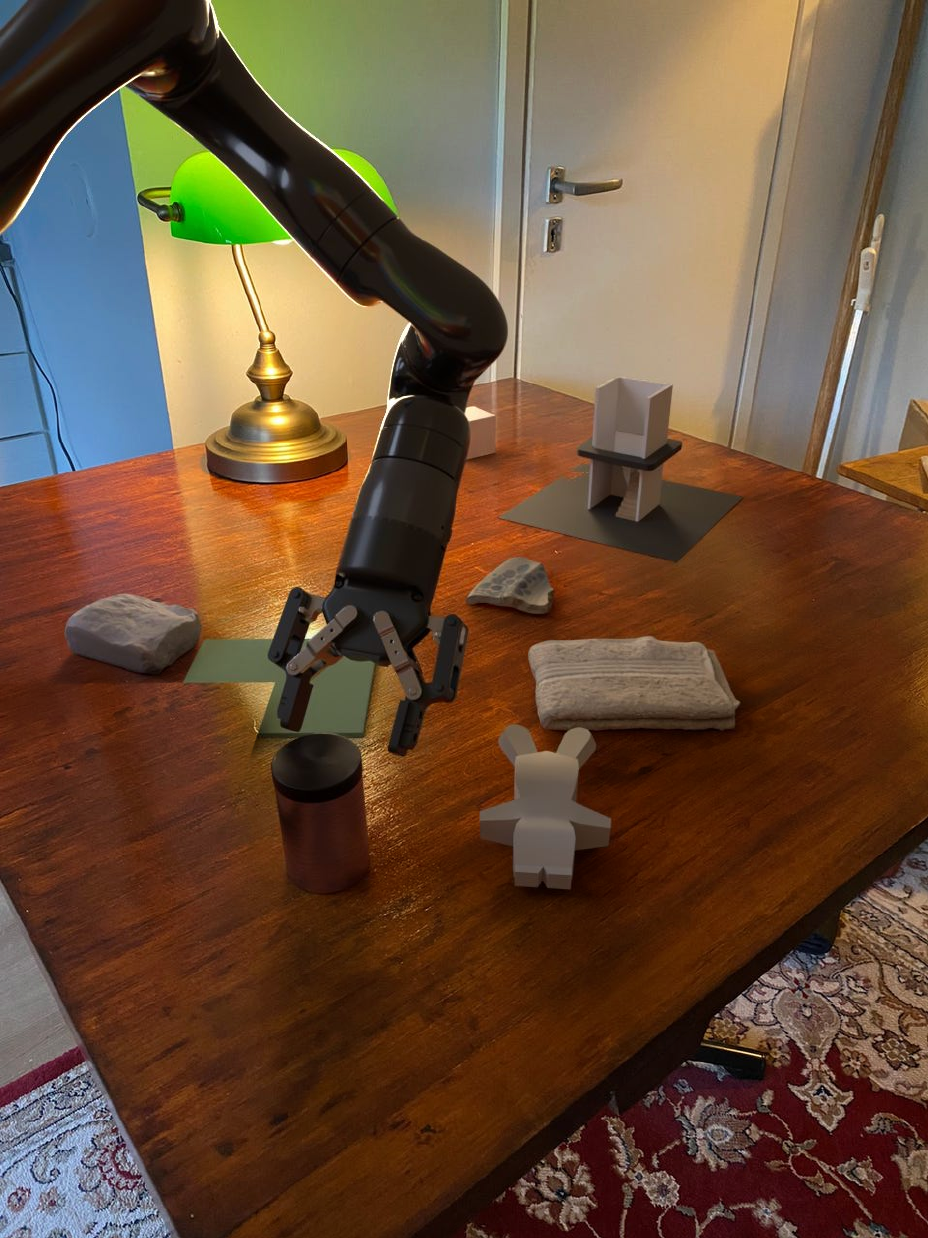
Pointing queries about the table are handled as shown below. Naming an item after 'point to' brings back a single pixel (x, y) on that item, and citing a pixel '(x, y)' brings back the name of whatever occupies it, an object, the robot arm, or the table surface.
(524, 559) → the ceramic fragment
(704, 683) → the washcloth
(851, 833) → the table surface
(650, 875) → the table surface
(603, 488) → the box stand
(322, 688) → the mat
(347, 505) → the table surface
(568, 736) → the bunny figurine
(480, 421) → the white cube
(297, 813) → the thermos cup
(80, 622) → the stone block
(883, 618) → the table surface
